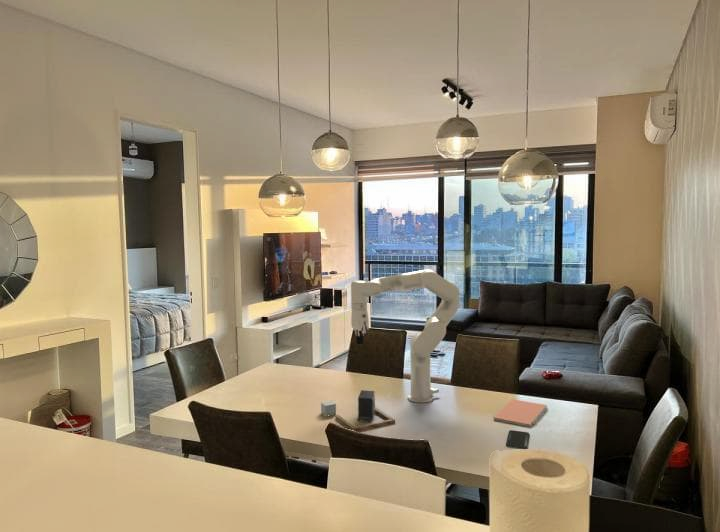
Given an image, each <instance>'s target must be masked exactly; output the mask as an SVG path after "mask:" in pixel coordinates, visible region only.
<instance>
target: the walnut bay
mask: <svg viewBox="0 0 720 532" xmlns="http://www.w3.org/2000/svg"><path fill="white" fill-rule="evenodd" d="M374 414H375V415H378V416H379V417H380V418H383V419H384V420H381V421H376V422H372V423H371V422H370V423H367V424H363V425H358V426H354V425H353V424H352V423H350V422H348V421H347V420H346V419H344V418H343V417H342V416H341V415H339V414H336V415H334V419H335V420H336V421H337V422H338V423H340V424H342V425H343V426H344V427H345V428H347V430H349V429H351V430H354V431H358V432H361V431H366V430H370V429H376V428H380V427H385V426H389V425H394V424H396V419H395V418H393V417H391V416H390V415H388V414H386V413H385V412H383V411H382V410H380V409H379V408H377V407H375V413H374ZM351 430H350V431H351Z"/></svg>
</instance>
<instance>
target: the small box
mask: <svg viewBox="0 0 720 532" xmlns="http://www.w3.org/2000/svg"><path fill="white" fill-rule="evenodd" d="M375 408H376V395H375V390H363V389H362V390H360V393H359V394H358V397H357V409H358V410H357V414H358V415H357V421H359V422H373V419H374V415H375V414H376V413H375Z"/></svg>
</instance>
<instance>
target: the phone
mask: <svg viewBox="0 0 720 532" xmlns="http://www.w3.org/2000/svg"><path fill="white" fill-rule="evenodd" d="M529 438H530V433H529V432H528V431H520V430H513V429H511V430H510V429H509V430H508V434H507V437H506V441H505V447H507V448H512V449H520V450H527V449H528V447H529V446H528V445H529Z"/></svg>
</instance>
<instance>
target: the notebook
mask: <svg viewBox="0 0 720 532" xmlns="http://www.w3.org/2000/svg"><path fill="white" fill-rule="evenodd" d="M547 411H548V405H547V404H542V403H538V402H537V403H536V402H532V401H525V400H519V399H511V400H510V401H509V402H507V404H506V405H504V406H503V407H502V408H500V410H499V411H498V412H497V413H495V415H493V416H492V418H493V421H498V422H503V423H506V424H507V423H509V424H513V425H517V426H522V427H523V426H524V427H529V428H532V426H535V425H536V424H537V423H538V422H539V420H541V418H542V417H543V416H544V415H545V413H546V412H547Z"/></svg>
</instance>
